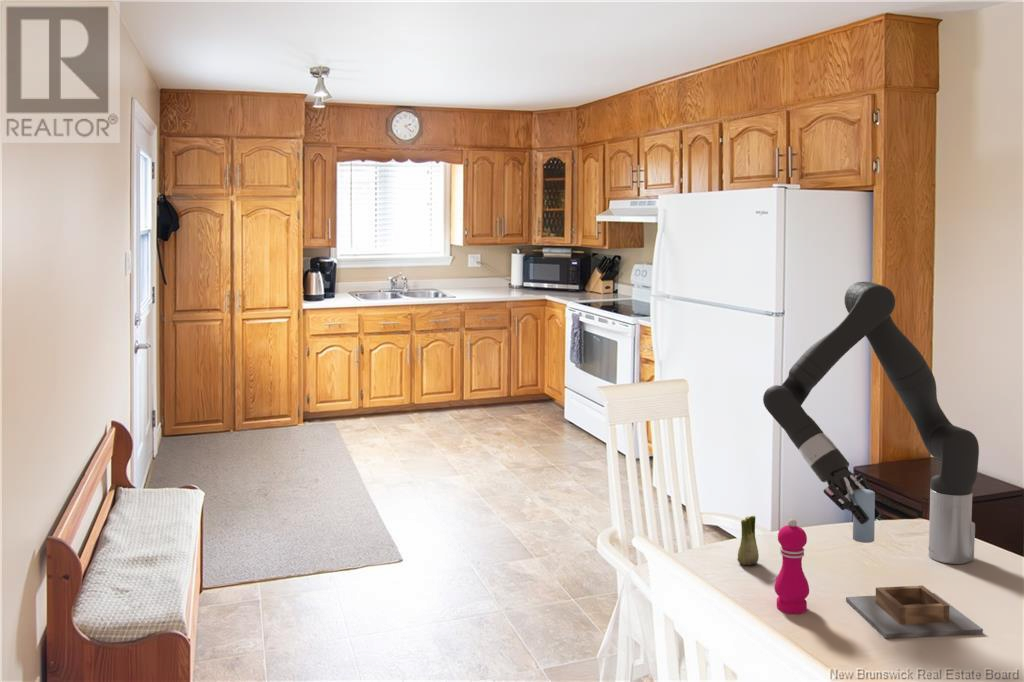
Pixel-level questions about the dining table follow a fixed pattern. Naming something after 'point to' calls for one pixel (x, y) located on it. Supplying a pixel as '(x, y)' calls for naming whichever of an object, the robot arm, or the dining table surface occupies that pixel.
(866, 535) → the post
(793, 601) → the pepper mill
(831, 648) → the dining table surface
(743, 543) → the fennel bulb
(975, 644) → the dining table surface
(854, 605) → the wooden frame tray
